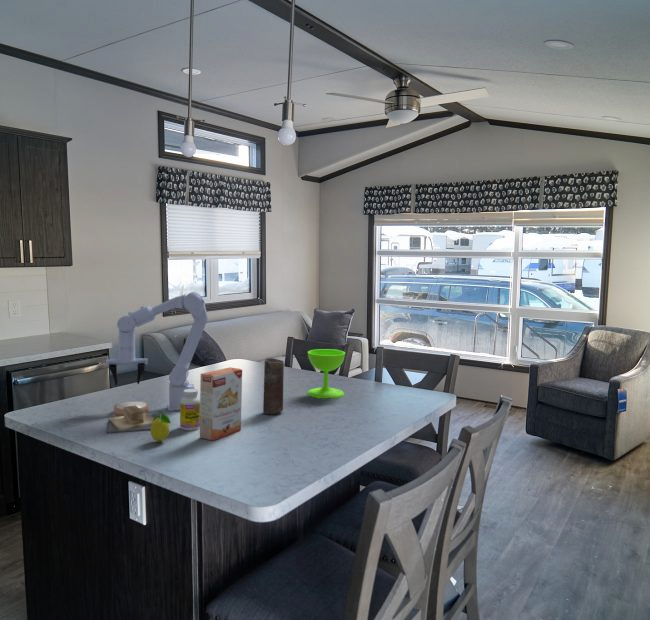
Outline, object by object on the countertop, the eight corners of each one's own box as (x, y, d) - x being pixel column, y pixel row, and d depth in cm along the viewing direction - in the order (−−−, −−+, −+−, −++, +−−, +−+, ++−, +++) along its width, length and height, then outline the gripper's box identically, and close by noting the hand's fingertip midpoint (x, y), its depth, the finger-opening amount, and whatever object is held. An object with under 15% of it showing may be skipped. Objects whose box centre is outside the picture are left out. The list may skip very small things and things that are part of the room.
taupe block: (146, 414, 196) (146, 402, 196) (158, 424, 186) (158, 410, 185) (108, 420, 189) (108, 407, 188) (119, 430, 178) (118, 416, 178)
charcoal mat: (157, 415, 197) (157, 414, 197) (159, 429, 182) (159, 427, 182) (109, 419, 192) (109, 417, 192) (107, 433, 177) (107, 431, 177)
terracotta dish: (148, 406, 208) (148, 400, 208) (148, 415, 197) (148, 408, 197) (114, 408, 204) (114, 402, 204) (113, 418, 193) (113, 410, 193)
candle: (272, 408, 210) (273, 357, 208) (287, 412, 205) (288, 359, 203) (259, 413, 203) (259, 359, 201) (274, 416, 199) (274, 362, 197)
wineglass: (351, 395, 232) (353, 353, 230) (320, 400, 223) (321, 357, 221) (330, 388, 245) (331, 348, 243) (299, 392, 236) (300, 350, 234)
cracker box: (213, 441, 171) (213, 375, 169) (198, 438, 174) (199, 373, 172) (242, 430, 183) (243, 368, 181) (228, 427, 186) (229, 366, 184)
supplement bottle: (182, 432, 180) (182, 393, 178) (178, 426, 186) (178, 389, 184) (202, 429, 183) (203, 391, 182) (197, 424, 189) (197, 387, 187)
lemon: (170, 445, 167) (170, 412, 166) (150, 446, 166) (150, 414, 165) (170, 437, 174) (170, 407, 173) (150, 439, 172) (150, 408, 171)
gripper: (147, 345, 209) (147, 380, 210) (106, 346, 204) (106, 382, 205) (147, 348, 202) (148, 384, 204) (105, 349, 198) (106, 386, 199)
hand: (127, 383), depth 204 cm, fingers open, 7 cm apart
